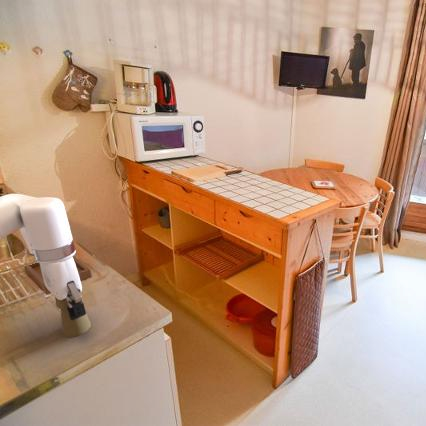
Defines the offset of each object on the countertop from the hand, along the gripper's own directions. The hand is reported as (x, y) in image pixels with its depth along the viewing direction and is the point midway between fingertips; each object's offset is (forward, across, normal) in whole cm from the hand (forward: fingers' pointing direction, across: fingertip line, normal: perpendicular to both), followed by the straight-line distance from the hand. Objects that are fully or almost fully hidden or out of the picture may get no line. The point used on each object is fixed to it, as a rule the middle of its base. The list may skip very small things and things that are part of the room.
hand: (71, 309), depth 81 cm
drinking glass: (+6, -52, +7) cm, 52 cm away
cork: (+6, 0, 0) cm, 6 cm away
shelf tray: (+6, -31, +6) cm, 32 cm away
